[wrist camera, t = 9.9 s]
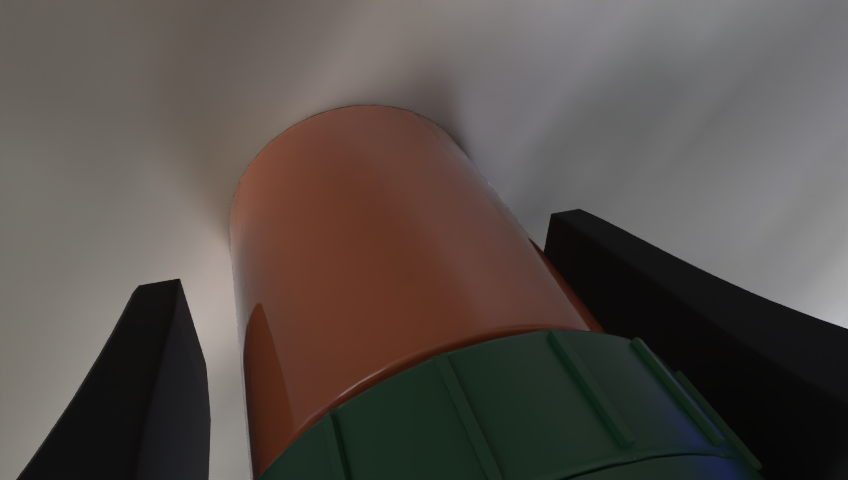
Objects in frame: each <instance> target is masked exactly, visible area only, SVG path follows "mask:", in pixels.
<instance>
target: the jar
mask: <svg viewBox="0 0 848 480" xmlns="http://www.w3.org/2000/svg"><path fill="white" fill-rule="evenodd" d="M229 235H230V246H231V258H232V270H233V281H234V293H235V304H236V316H237V328H238V339H239V351H240V363H241V374H242V386H243V397H244V409H245V421H246V432H247V444H248V455H249V467H250V479H251V480H256V479H257V478H258V477H259V476H260V475H261V474H262V473H263V472H264V471H265V470H266V469H267V468H268V467H269V465H270V464H271V463H272V462H273V461H274V460H275V459H276V458H277V457H278V456H279V455H280V454H281V453H282V452H283V451H284V450H285V449H286V448H287V447H288V446H289V445H290V444H291V443H292V442H293V441H295V440H296V439H297V438H298V437H299V436H301V435H302V434H303V433H304V432H305V431H306V430H308V429H309V428H310V427H311V426H312V425H313V424H315V423H316V422H317V421H319V420H320V419H321V418H322V417H323V416H324V415H325V414H326V413H328V412H331V410H332V409H333V408H335V407H337V406H339V405H341V404H343V403H345V402H346V401H348V400H350V399H351V398H353V397H355V396H356V395H358V394H360V393H362V392H363V391H365V390H367V389H369V388H370V387H372V386H374V385H376V384H377V383H379V382H381V381H383V380H385V379H387V378H389V377H391V376H393V375H395V374H398V373H400V372H402V371H404V370H406V369H408V368H410V367H413V366H415V365H417V364H419V363H421V362H424V361H426V360H427V359H429V358H431V357H433V356H439V354H441V353H445V352H449V351H453V350H456V349H460V348H463V347H467V346H471V345H474V344H478V343H481V342H485V341H489V340H492V339H496V338H502V337H507V336H513V335H519V334H524V333H530V332H536V331H540V330H549V329H550V330H551V329H559V330H578V331H594V332H600V333H605V334H608V333H607V332H606V331H605V330H604V328H603V327H602V326H601V325H600V323H599V322H598V321H597V319H596V318H595V317H594V316H593V314H592V313H591V312H590V311H589V309H588V308H587V307H586V306H585V304H584V303H583V302H582V301H581V299H580V298H579V297H578V295H577V294H576V293H575V292H574V290H573V289H572V288H571V287H570V285H569V284H568V283H567V282H566V280H565V279H564V278H563V276H562V275H561V274H560V273H559V271H558V270H557V269H556V268H555V266H554V265H553V264H552V263H551V261H550V260H549V259H548V258H547V256H546V255H545V254H544V252H543V251H542V250H541V249H540V247H539V246H538V245H537V244H536V242H535V241H534V240H533V239H532V237H531V236H530V235H529V234H528V232H527V231H526V230H525V228H524V227H523V226H522V225H521V223H520V222H519V221H518V220H517V218H516V217H515V216H514V215H513V213H512V212H511V211H510V209H509V208H508V207H507V206H506V204H505V203H504V202H503V201H502V199H501V198H500V197H499V196H498V194H497V193H496V192H495V191H494V189H493V188H492V187H491V185H490V184H489V183H488V182H487V180H486V179H485V178H484V177H483V175H482V174H481V173H480V172H479V170H478V169H477V168H476V166H475V165H474V164H473V163H472V161H471V160H470V159H469V158H468V156H467V155H466V154H465V153H464V151H463V150H462V149H461V148H460V146H459V145H458V144H457V143H456V142H455V141H454V139H453V138H452V137H451V136H450V135H449V134H448V133H447V132H445V131H444V130H443V129H442V128H440V127H439V126H438V125H436V124H435V123H433V122H431V121H430V120H428V119H426V118H424V117H422V116H420V115H417V114H415V113H412V112H410V111H406V110H402V109H398V108H394V107H385V106H376V105H371V106H352V107H345V108H338V109H335V110H331V111H327V112H324V113H320V114H318V115H315V116H313V117H311V118H308V119H306V120H303V121H302V122H300V123H298V124H296V125H294V126H293V127H291V128H289V129H287V130H286V131H285V132H283V133H282V134H280V135H279V136H278V137H276V138H275V139H274V140H272V141H271V142H270V143H269V144H268V145H267V146H266V147H265V148H264V149H263V150H262V151H261V152H260V153H259V154H258V155H257V156H256V158H255V159H254V160H253V161H252V163H251V164H250V165H249V166H248V168H247V170H246V171H245V173H244V175H243V176H242V178H241V180H240V182H239V184H238V186H237V189H236V191H235V194H234V196H233V200H232V205H231V209H230V216H229Z"/></svg>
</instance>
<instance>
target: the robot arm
mask: <svg viewBox="0 0 848 480" xmlns="http://www.w3.org/2000/svg"><path fill="white" fill-rule="evenodd" d="M544 254H545V255H546V256H547V258H548V259H549V260H550V261H551V263H552V264H553V265H554V266H555V268H556V269H557V270H558V271H559V273H560V274H561V275H562V276H563V278H564V279H565V280H566V282H567V283H568V284H569V285H570V287H571V288H572V289H573V290H574V292H575V293H576V294H577V295H578V297H579V298H580V299H581V301H582V302H583V303H584V304H585V306H586V307H587V308H588V309H589V311H590V312H591V313H592V314H593V316H594V317H595V318H596V319H597V321H598V322H599V323H600V325H601V326H602V327H603V328H604V330H605V331H606V332H607V333H608V334H611V335H616V336H619V337H625V338H626V339H630V340H631V341H632V340H633V339H634V338H635V337H637V338H640V339H642V340H643V342H644V343H645V344H646V345H647V346H648V348H649V349H650V350H651V351H652V352H653V353H655V354H656V355H658V356H659V357H660V358H661V359H662V360H663V361H664V362H665V363H666V364H667V366H668V367H669V368H670V369H671V370H672V371H673V372H674V373H676V372H677V371H679V370H680V371H681V372H682V373H683V375H684V376H685V377H686V378H687V379H688V380H689V381H690V383H691V384H692V385H693V386H694V387H695V388H696V390H697V391H698V392H699V393H700V394H701V395H702V396H703V398H704V399H705V400H706V401H707V402H708V403H709V405H710V406H711V407H712V408H713V409H714V410H715V411H716V413H717V414H718V415H719V416H720V417H721V418H722V420H723V421H724V422H725V423H726V424H727V425H728V426H729V428H730V429H731V430H732V431H733V432H734V433H735V435H736V436H737V437H738V438H739V439H740V440H741V441H742V443H743V444H744V445H745V446H746V447H747V448H748V450H749V451H750V452H751V453H752V454H753V455H754V456H755V458H756V459H757V460H758V461H759V462H760V463H761V465H762V468H761V469H759V470H758V471H757V472H758V473H759V474H760V475H761V476H762V477H763V478H764V479H765V480H848V329H846V328H843V327H840V326H837V325H835V324H832V323H829V322H826V321H823V320H820V319H817V318H815V317H812V316H809V315H807V314H804V313H802V312H799V311H796V310H794V309H791V308H788V307H786V306H783V305H781V304H778V303H775V302H773V301H770V300H768V299H766V298H763V297H761V296H758V295H756V294H754V293H751V292H749V291H747V290H745V289H742V288H740V287H738V286H736V285H734V284H731V283H729V282H727V281H725V280H723V279H720V278H718V277H716V276H714V275H712V274H710V273H707V272H705V271H703V270H701V269H699V268H697V267H695V266H693V265H691V264H689V263H687V262H685V261H683V260H681V259H679V258H677V257H675V256H673V255H671V254H669V253H667V252H665V251H663V250H661V249H659V248H657V247H655V246H653V245H652V244H650V243H648V242H646V241H644V240H642V239H640V238H638V237H636V236H634V235H632V234H630V233H628V232H627V231H625V230H623V229H621V228H619V227H617V226H615V225H613V224H611V223H609V222H607V221H605V220H603V219H601V218H599V217H597V216H594V215H592V214H590V213H588V212H585V211H583V210H581V209H576V210H570V211H565V212H559V213H553V214H551V218H550V223H549V228H548V233H547V239H546V244H545V249H544ZM210 423H211V418H210V405H209V392H208V381H207V369H206V362H205V359H204V356H203V353H202V349H201V346H200V343H199V340H198V336H197V333H196V330H195V327H194V323H193V320H192V317H191V314H190V310H189V307H188V304H187V301H186V297H185V294H184V291H183V288H182V284H181V281H180V279H174V280H168V281H162V282H157V283H151V284H145V285H139V286H138V287H137V288H136V290H135V291H134V292H133V293H132V295H131V297H130V299H129V301H128V303H127V305H126V307H125V309H124V311H123V313H122V315H121V317H120V319H119V320H118V322H117V324H116V326H115V328H114V330H113V331H112V333H111V335H110V337H109V339H108V340H107V342H106V344H105V346H104V347H103V349H102V351H101V353H100V354H99V356H98V358H97V359H96V361H95V363H94V364H93V366H92V368H91V369H90V371H89V373H88V374H87V376H86V378H85V379H84V381H83V382H82V384H81V386H80V387H79V389H78V391H77V392H76V394H75V396H74V397H73V399H72V400H71V402H70V403H69V405H68V406H67V408H66V409H65V411H64V412H63V414H62V415H61V417H60V418H59V420H58V421H57V423H56V424H55V425H54V427H53V428H52V430H51V431H50V433H49V434H48V436H47V437H46V439H45V440H44V442H43V443H42V445H41V446H40V447H39V449H38V450H37V452H36V453H35V455H34V456H33V457H32V459H31V460H30V462H29V463H28V464H27V466H26V467H25V468H24V470H23V471H22V472H21V474H20V475H19V477H18V478H17V479H16V480H208V477H209V452H210Z"/></svg>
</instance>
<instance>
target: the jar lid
mask: <svg viewBox="0 0 848 480" xmlns="http://www.w3.org/2000/svg"><path fill="white" fill-rule="evenodd" d="M761 468H762V465H761V463H760V462H759V461H758V460H757V459H756V458H755V456H754V455H753V454H752V453H751V452H750V451H749V450H748V448H747V447H746V446H745V445H744V444H743V443H742V441H741V440H740V439H739V438H738V437H737V436H736V435H735V433H734V432H733V431H732V430H731V429H730V428H729V426H728V425H727V424H726V423H725V422H724V421H723V420H722V418H721V417H720V416H719V415H718V414H717V413H716V411H715V410H714V409H713V408H712V407H711V406H710V405H709V403H708V402H707V401H706V400H705V399H704V398H703V396H702V395H701V394H700V393H699V392H698V391H697V390H696V388H695V387H694V386H693V385H692V384H691V383H690V381H689V380H688V379H687V378H686V377H685V376H684V375H683V373H682V372H681V371H680V370H679V371H677V372H676V373H674V372H673V371H672V370H671V369H670V368H669V367H668V366H667V364H666V363H665V362H664V361H663V360H662V359H661V358H660V357H659V356H658V355H656V354H655V353H653V352H652V351H651V350H650V349H649V348H648V346H647V345H646V344H645V343H644V342H643V340H642V339H640V338H637V337H635V338H634V339H633V340H632V341H631V340H630V339H626V338H625V337H619V336H616V335H611V334H605V333H600V332H594V331H578V330H559V329H551V330H550V329H549V330H540V331H536V332H530V333H524V334H519V335H513V336H507V337H502V338H496V339H492V340H489V341H485V342H481V343H478V344H474V345H471V346H467V347H463V348H460V349H456V350H453V351H449V352H445V353H441V354H439V356H433V357H431V358H429V359H427V360H426V361H424V362H421V363H419V364H417V365H415V366H413V367H410V368H408V369H406V370H404V371H402V372H400V373H398V374H395V375H393V376H391V377H389V378H387V379H385V380H383V381H381V382H379V383H377V384H376V385H374V386H372V387H370V388H369V389H367V390H365V391H363V392H362V393H360V394H358V395H356V396H355V397H353V398H351V399H350V400H348V401H346V402H345V403H343V404H341V405H339V406H337V407H335V408H333V409H332V410H331V412H328V413H326V414H325V415H324V416H323V417H322V418H321V419H320V420H319V421H317V422H316V423H315V424H313V425H312V426H311V427H310V428H309V429H308V430H306V431H305V432H304V433H303V434H302V435H301V436H299V437H298V438H297V439H296V440H295V441H293V442H292V443H291V444H290V445H289V446H288V447H287V448H286V449H285V450H284V451H283V452H282V453H281V454H280V455H279V456H278V457H277V458H276V459H275V460H274V461H273V462H272V463H271V464H270V465H269V467H268V468H267V469H266V470H265V471H264V472H263V473H262V474H261V475H260V476H259V477H258V478H257V479H256V480H765V479H764V478H763V477H762V476H761V475H760V474H759V473H758V472H757V471H758V470H759V469H761Z"/></svg>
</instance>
